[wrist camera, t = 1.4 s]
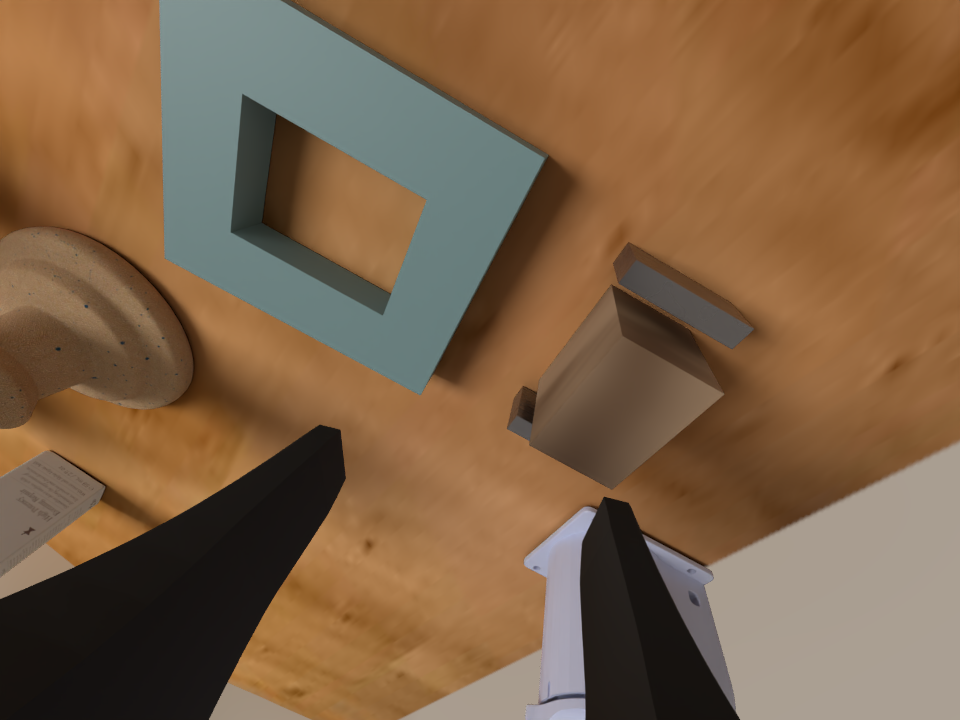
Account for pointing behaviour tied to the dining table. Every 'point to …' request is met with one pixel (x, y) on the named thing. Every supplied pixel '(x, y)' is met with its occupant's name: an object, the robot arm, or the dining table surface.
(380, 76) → the socket board
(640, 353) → the walnut block
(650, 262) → the metal stand
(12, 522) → the skincare box
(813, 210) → the dining table surface
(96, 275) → the candle holder
